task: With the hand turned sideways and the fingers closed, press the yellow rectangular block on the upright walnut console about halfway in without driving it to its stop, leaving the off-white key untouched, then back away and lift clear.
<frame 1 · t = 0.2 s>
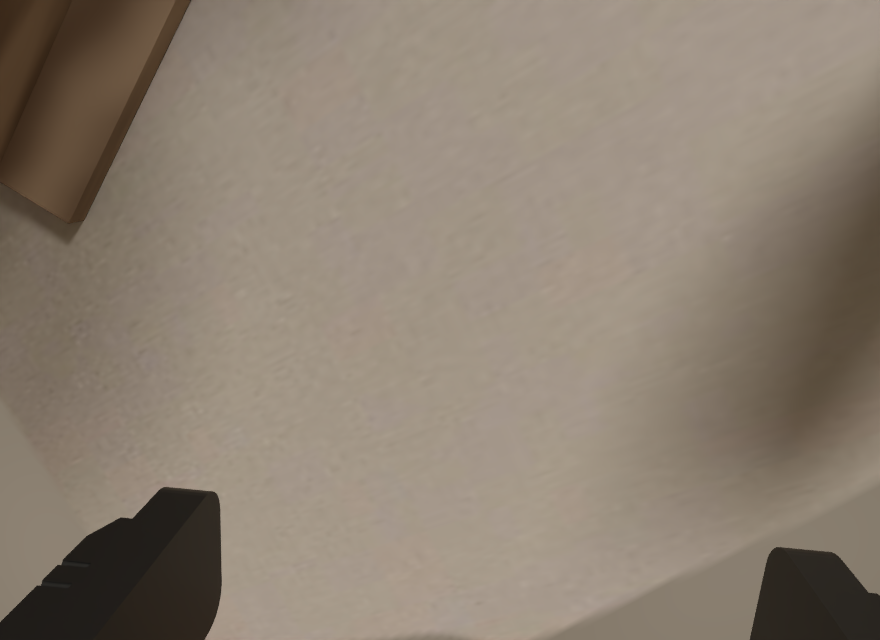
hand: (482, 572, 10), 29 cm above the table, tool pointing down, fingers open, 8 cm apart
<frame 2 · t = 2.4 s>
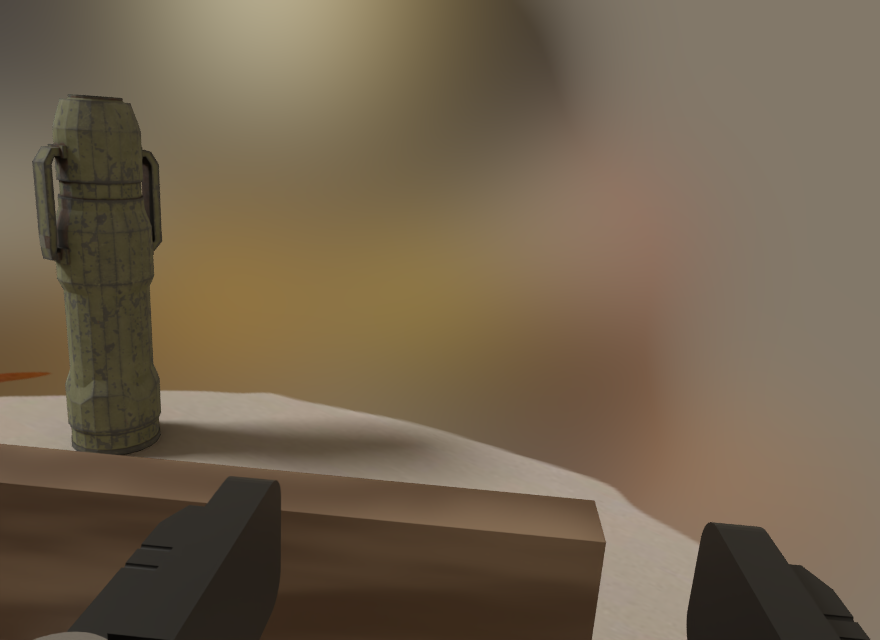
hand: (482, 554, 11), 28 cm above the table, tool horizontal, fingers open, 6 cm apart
thermos: (117, 439, 75), on the table
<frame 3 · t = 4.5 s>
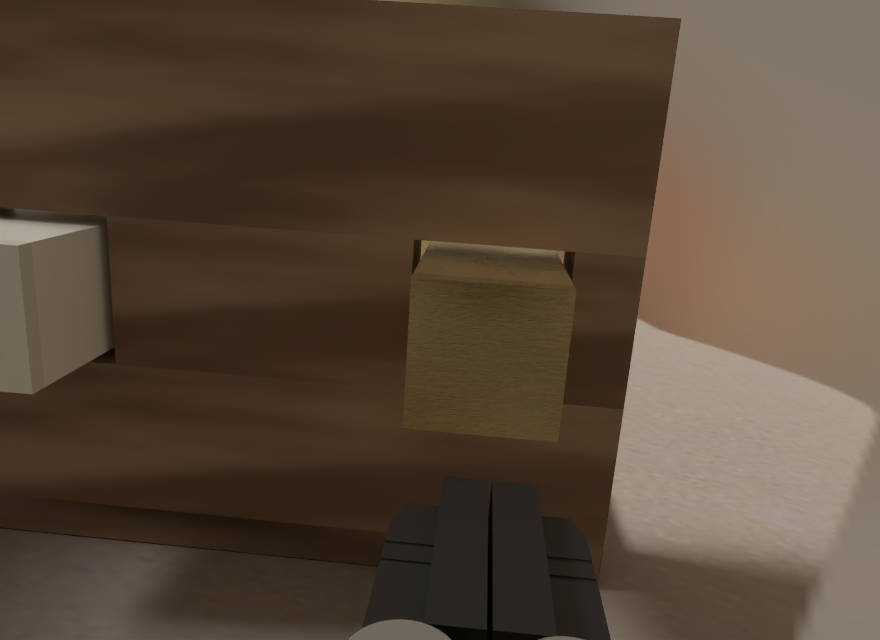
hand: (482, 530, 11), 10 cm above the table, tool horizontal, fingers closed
key white: (32, 287, 24), point 10 cm above the table, slide at 0.0 cm
yellow rectangular block: (487, 325, 24), point 10 cm above the table, slide at 0.0 cm
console: (271, 532, 28), on the table
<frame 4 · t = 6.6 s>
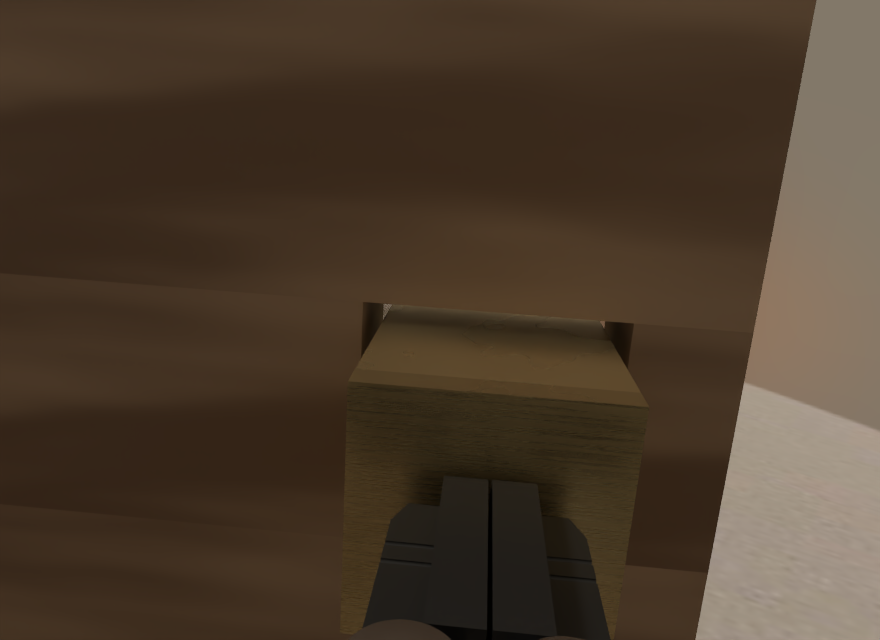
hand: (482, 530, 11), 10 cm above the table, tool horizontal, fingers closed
yellow rectangular block: (486, 430, 15), point 10 cm above the table, slide at 0.7 cm, touching gripper
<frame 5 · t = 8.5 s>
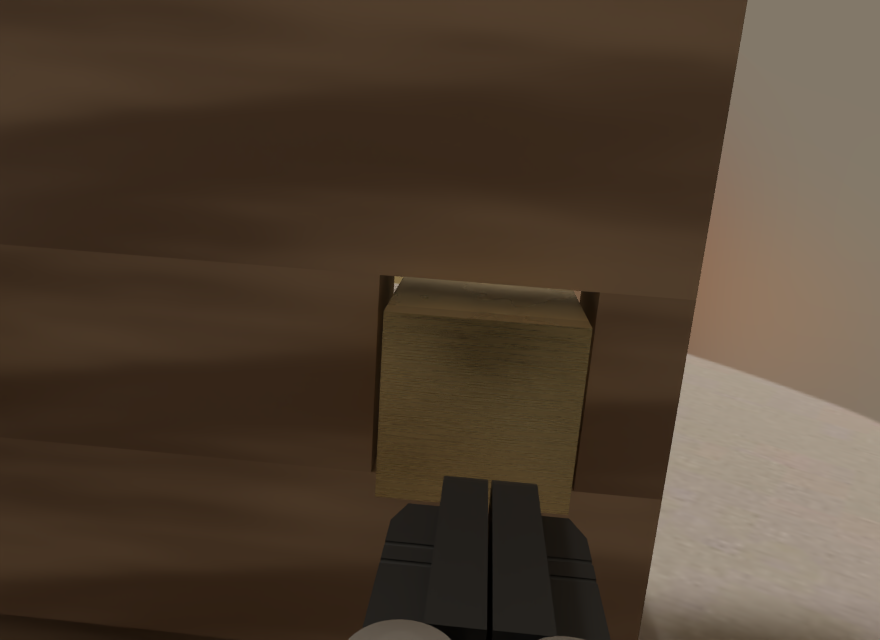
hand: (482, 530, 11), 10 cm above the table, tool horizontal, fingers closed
yellow rectangular block: (480, 362, 20), point 10 cm above the table, slide at 2.2 cm
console: (205, 639, 22), on the table
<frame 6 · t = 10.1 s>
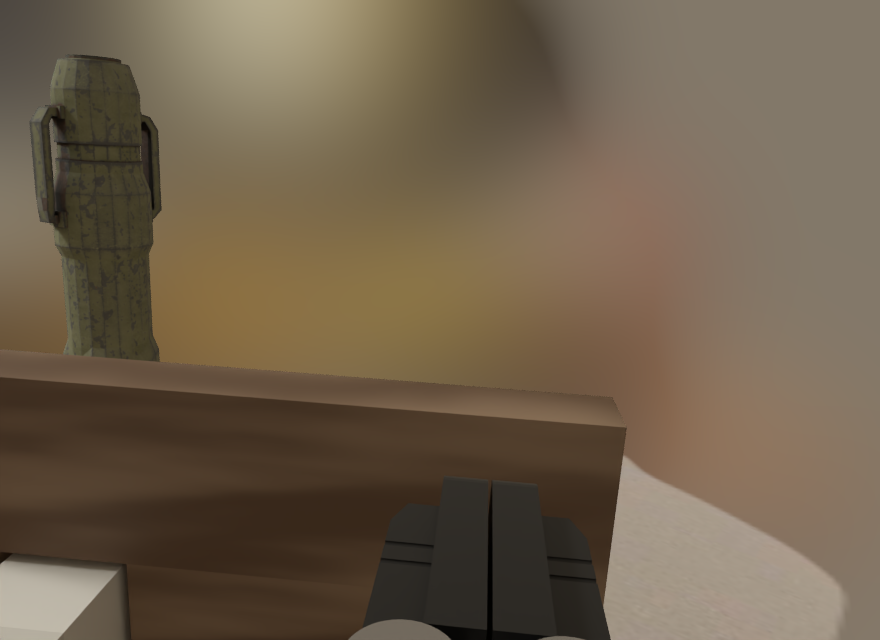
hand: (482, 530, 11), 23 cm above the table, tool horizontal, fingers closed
key white: (60, 622, 28), point 10 cm above the table, slide at 0.0 cm
thermos: (116, 412, 73), on the table
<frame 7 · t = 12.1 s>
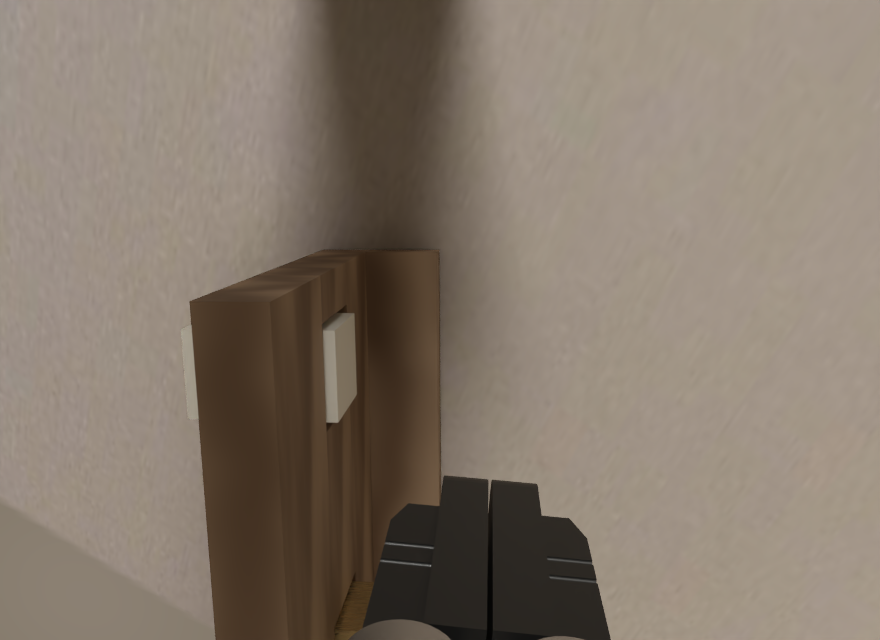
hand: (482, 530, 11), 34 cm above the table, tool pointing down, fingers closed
key white: (274, 364, 36), point 10 cm above the table, slide at 0.0 cm
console: (352, 440, 47), on the table
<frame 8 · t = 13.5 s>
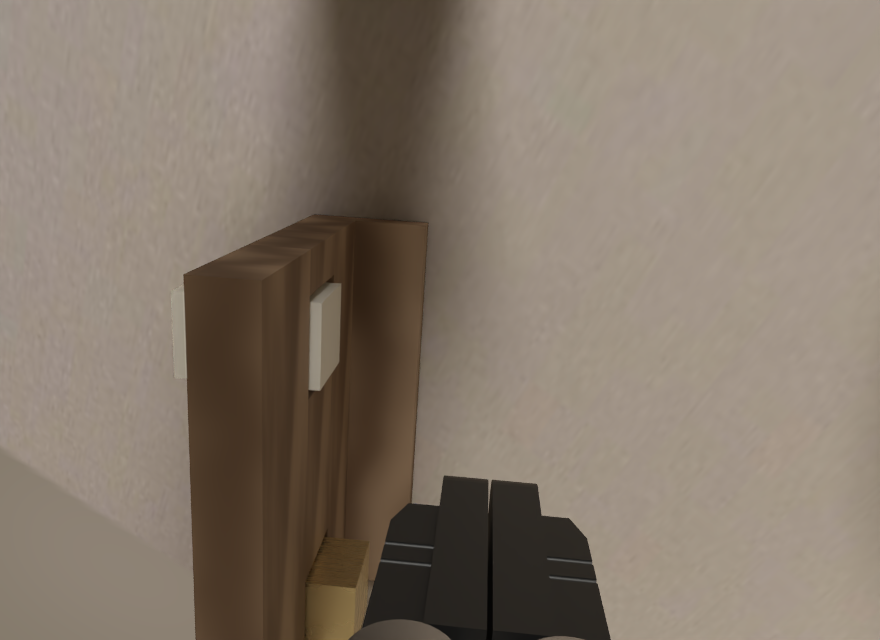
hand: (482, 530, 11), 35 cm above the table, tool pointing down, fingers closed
key white: (260, 329, 37), point 10 cm above the table, slide at 0.0 cm
yellow rectangular block: (298, 590, 41), point 10 cm above the table, slide at 2.2 cm
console: (332, 401, 49), on the table
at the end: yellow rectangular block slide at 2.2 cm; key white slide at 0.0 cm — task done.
